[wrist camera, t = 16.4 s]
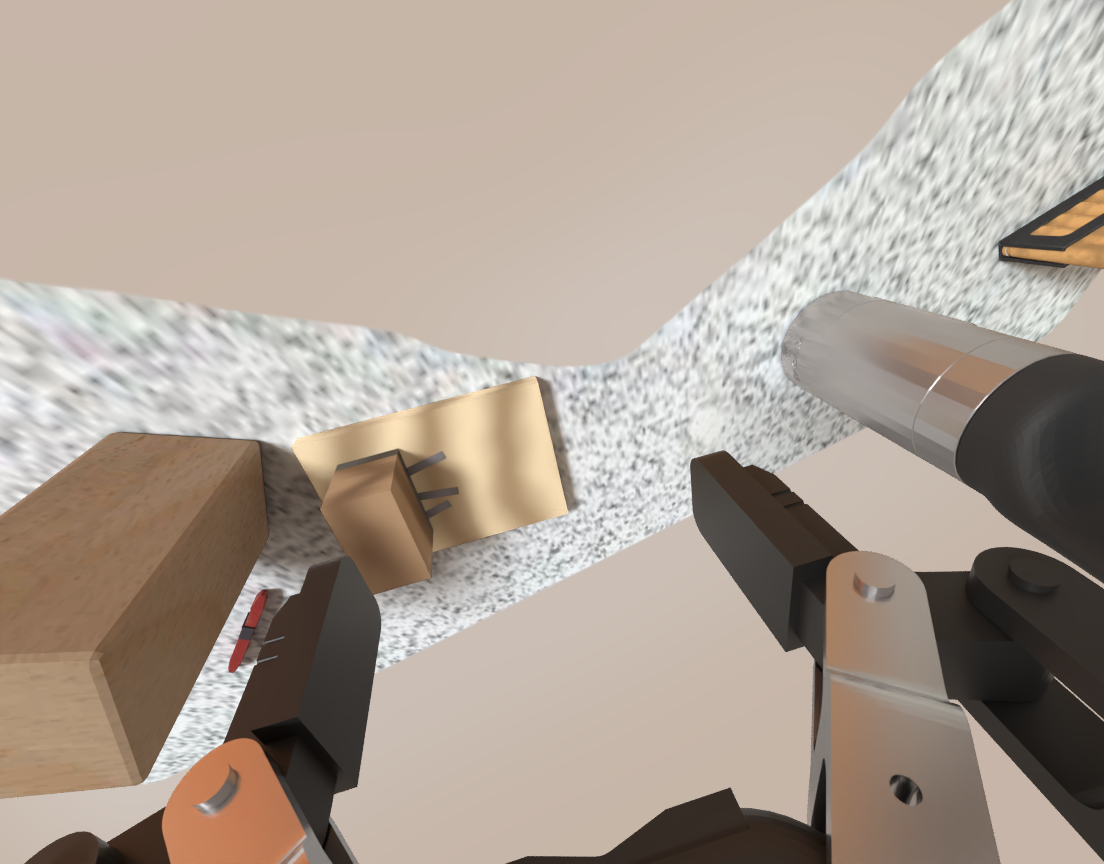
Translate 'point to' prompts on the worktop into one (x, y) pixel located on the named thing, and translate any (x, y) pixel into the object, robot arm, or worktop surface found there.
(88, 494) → the wooden block
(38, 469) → the worktop surface
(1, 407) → the worktop surface
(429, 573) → the block
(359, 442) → the pine board
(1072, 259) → the ammunition clip
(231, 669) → the utility knife
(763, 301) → the worktop surface
